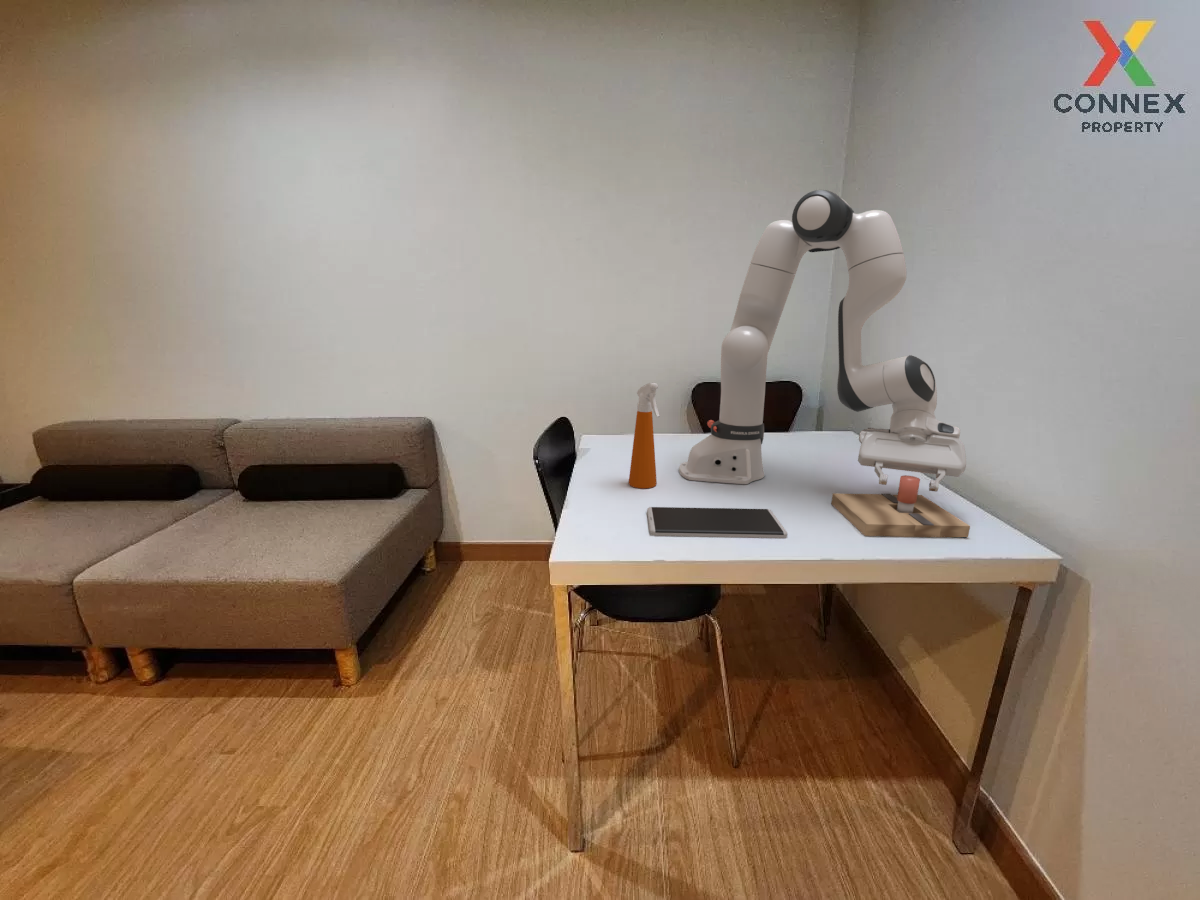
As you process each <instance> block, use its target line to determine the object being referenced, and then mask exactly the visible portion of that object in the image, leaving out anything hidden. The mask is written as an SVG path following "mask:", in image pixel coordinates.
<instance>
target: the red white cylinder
mask: <svg viewBox="0 0 1200 900" xmlns="http://www.w3.org/2000/svg"><path fill="white" fill-rule="evenodd" d="M920 483H921V479H920V478H919V477H917V476H913V475H900V478H899V484H898V490H897V495H898V496H897V500H898V506H897V511H898V512H899V513H913V509H914V503H916V501H917V495H919V494H918V493H919V489H920Z"/></svg>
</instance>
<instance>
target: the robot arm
mask: <svg viewBox="0 0 1200 900" xmlns="http://www.w3.org/2000/svg"><path fill="white" fill-rule="evenodd" d="M900 238H901V237H900V235H899V233H898V230H897V227H896V225H895V222H894V221H893V218H892V216H891V215H890V214H889V213H888V212H887V211H885V210H881V209H880V210H879V209H872V210H866V211H864V212H860V213H856V212H855V211H854V209H853V208H852V207H851V205H849V203H848V202H847V201H846V200H845V199H844V198H842V197H840V196H839V194H838V195H837V194H836V193H835V192H833V191H830V190H828V189H827V190H826V189H816V190H815V189H814V190H812V191H810V192H807V193H806V194H805V195H803V196H802V197H801V198H800V199H799V200H798V201H797V202H796V204H795V206H794V208H793V210H792V215H791V220H790V219H789V220H788V219H779V220H775V221H772V222H770V223H769V224H768V225H767V226H766V227H765V229H764V230H763V233H762V234H761V236H760V238H759V240H758V242H757V245H756V247H755V249H754V252H753V254H752V256H751V257H752V258H751V259H750V264H749V266H748V270H747V273H746V276H745V278H744V282H743V285H742V287H741V291H740V293H739V298H738V300H737V301H738V302H737V306H736V311H735V313H734V317H733V320H732V324H731V327H730V330H729V332H728V333H727V334H726V335H725V336H724V338H723V340H722V343H721V346H720V347H721V351H720V355H721V356H720V404H719V419H718V420H717V421H714V420H712V419H710V420H709V419H708V421H707V423H706V424H707V426H708V428H710V434H709V435H708V436H706V437H705V438H704V439H702V440H701V441H699V442H698V443H696V444H695V445H692V447H691V449H690V450H689V453H688V457H687V461H683V462H682V463H680V465H679V468H678V472H679V475H680V476H681V477H683V478H684V479H686V480H689V481H696V482H698V481H699V482H710V483H711V482H712V483H724V484H725V483H726V484H735V485H736V484H737V485H748V484H751V482H754V481H758V480H761V479H763V478H765V476H766V475H765V471H764V464H763V457H762V456H763V454H762V444H764V443H763V441H764V437H765V423H763V421H764V410H765V409H764V408H765V398H766V397H765V396H766V384H767V383H766V382H767V381H766V380H767V379H766V378H767V367H768V366H767V365H768V355H769V352H770V349H771V346H772V344H773V340H774V337H775V334H776V331H777V328H778V325H779V323H780V320H781V317H782V314H783V311H784V308H785V305H786V303H787V300H788V297H789V294H790V291H791V288H792V285H793V282H794V279H795V277H796V274H797V271H798V268H799V265H800V263H801V260H802V258H803V256H804V255H805V254H806V253H807V252H809V253H820V252H829V251H830V252H831V251H835V250H839V249H841V250H842V251H843V254H844V256H845V261H846V266H847V270H848V272H847V273H848V287H847V290H846V294H845V296H844V297H843V298H842V299H841V300H840V302H839V304H838V305H839V306H838V311H837V312H838V314H837V315H838V316H837V334H838V335H837V338H838V339H837V343H838V345H837V346H838V376H837V383H836V384H837V385H836V386H837V387H836V388H837V396H838V399H839V400H838V401H840V403H841V405H843V406H844V407H846V408H847V409H850V410H851V411H854V412H857V413H859V412H862V411H863V412H864V411H866V410H870V409H874V408H876V407H881V406H887V405H891V406H892V414H891V417H890V420H889V421H890V423H889V428H874V427H867V428H864V429H862V430H861V431H860V432H859V436H858V441H859V443H860V446H859V452H858V457H857V461H858V463H859V464H860V465H861V466H862V467H863V466H864V467H872V468H873V467H874V472H875V474H876V476H877V477H878V479H879V480H878V484H879V485H883V486H887V483H888V477H889V475H888V474H884V472H883V469H889V470H896V471H905V472H914V473H921V474H922V473H923V474H930V475H931V474H932V475H935V478H936V479H935V480H934V479H933V480H932V479H931V480H930V481H929V485H928V491H929V492H935V493H937V492H938V490H939V485H940V483H941V482H942V481H943V480H944V478H945V476H947V477H956V478H957V477H958V478H959V477H960V476H962V474H964V472H965V470H966V468H967V456H966V448H965V444H964V442H963V441H962V440H961V439H960V435H961V429H960V428H959V427H958V426H955V425H952V424H949V423H946V422H944V421H940V420H938V419H937V418H936V415H935V412H936V409H937V405H938V403H937V402H938V392H937V391H938V390H937V384H936V383H937V382H936V378H935V374H934V372H933V370H932V368H931V367H930V365H929V364H928V363H926V362H925V361H924V360H923V359H921V358H919V357H917V356H914V355H912V354H911V355H910V354H909V355H905V356H901V357H899V356H898V357H895V358H892V359H891V358H890V359H887V360H885V361H879V362H876V363H872V364H867V365H864V364H863V363H862V329H863V326H864V325H865V323H866V321H867V320H868V319H869V318H870V317H871V316H872V315H874V314H875V313H876V312H877V311H878V310H880V309H881V308H883V307H885V305H887V304H888V303H890V302H891V301H892V300H893V299H894V298H896V296H897V295H898V294H900V292H901V290H902V289H903V287H904V286H905V283H906V280H907V265H906V258H905V254H904V249H903V245H902V241H901V239H900Z"/></svg>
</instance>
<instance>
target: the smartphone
mask: <svg viewBox="0 0 1200 900" xmlns="http://www.w3.org/2000/svg"><path fill="white" fill-rule="evenodd" d="M646 515H647V521H648V529H649V534H650V536H653V537H685V538H686V537H687V538H688V537H690V538H691V537H692V538H695V537H699V538H739V539H741V538H747V539H748V538H752V539H753V538H754V539H787V538H788V534H789V533H788V531H787V530H786V529H785V528H784V526H783V525H782V523H781V522H780V521H779V518H778V517H776V515H775V514H774V512H773V511H772V509H770V508H730V507H729V508H725V507H723V508H722V507H721V508H720V507H676V506H675V507H672V506H671V507H669V506H668V507H667V506H666V507H665V506H649V507H648V508H647V509H646Z"/></svg>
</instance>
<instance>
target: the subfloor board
mask: <svg viewBox="0 0 1200 900" xmlns="http://www.w3.org/2000/svg"><path fill="white" fill-rule="evenodd" d="M831 495H832V496H831V501H830V502H831V505H832V506H833V507H834V509H836V510H837V511H839V513H840V514H841V515H842V516H843V517H844V518H846V519H847V520H848V521H849V522H850V523H851V524H852V525H853V526H854V527H855V528H856V529H857V530H858V531H860V533H861V534H862V535H863V536H864V537H895V538H897V537H901V538H903V537H905V538H947V537H968V538H969V534H970V529H971V526H970V524H968V523H966V522H964V521H963V520H961V519H960V518H959V517H956V516H955V515H954V514H952V513H950V512H949V511H947V510H946V509H945V508H943V507H941V506H939V505H938V504H936V503H935V502H933V501H932V500H930V499H929V498H927V497H926V496H924V495H922V494H918V495H917V501H916V503H914V509H913V513H899V512H898V511H897V506H898V500H897V496H898V493H897V494H893V493H892V494H891V493H887V492H885V493H884V492H883V493H881V494H880V493H878V494H877V493H872V494H871V493H837V492H836V493H832V494H831Z"/></svg>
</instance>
